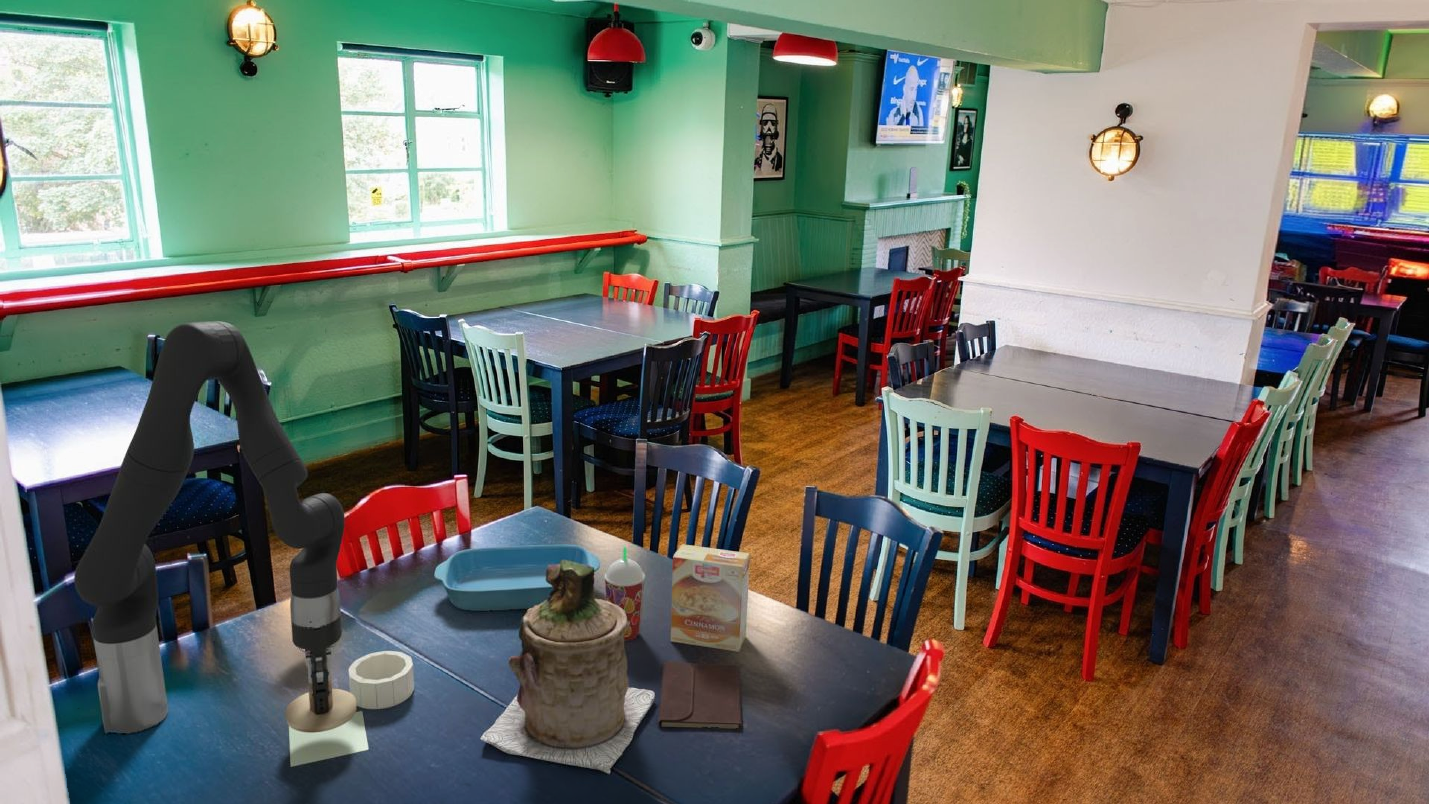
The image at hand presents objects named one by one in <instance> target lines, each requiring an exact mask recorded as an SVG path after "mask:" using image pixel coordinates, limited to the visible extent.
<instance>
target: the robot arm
mask: <svg viewBox="0 0 1429 804" xmlns="http://www.w3.org/2000/svg"><path fill="white" fill-rule="evenodd" d="M210 380H216V381H218V383H219V384H220V385H221V387H223V389H224V391H225V392H226V394H227V395H228V397H229V398H230V401H231V404H232V406H233V409H234V412H235V416H236V423H237V433H238V441H239V446H240V449H241V452H242V455H243V457H244V459H245V461H246V462H247V464H248V466H249V468H250V469H251V471H252V473H253V475H254V476H255V478H256V479H257V481H258V482H259V484H260V486H261V487H262V490H263V492H264V493H263V494H264V496H265V502H266V504H267V505H266V506H267V507H268V512H269V516H270V520H271V523H272V526H273V529H274V532H275V534H276V536H277V537H278V539H280V541H281V542H282V543H283V544H285V545H286V546H288V547H290V548H292V549H296V550H300V551H299V552H298V553H297V554H296V555H295V556H294V557H293V558H292V559H291V561H290V564H289V578H290V581H289V582H290V603H289V604H290V605H289V607H290V622H291V637H292V639H291V640H292V643H293V645H294V646H295V647H297V648H298V649H300V648H301V649H305V652H304V653H305V666H306V667H307V673H308V674H307V675H308V681H309V683H312V688H313V691H312V697H313V699H314V710H315V714H316V715H319V714H325V713H328V712H329V702H328V696H329V694H330V690H329V684H328V681H329V680H330V679H332V671H331V670H332V669H331V668H332V667H331V663H332V659H333V658H332V648H331V645H333V644H335V643H336V642H337V643H338V642H339V641H340V640H341V638H342V635H343V633H342V632H343V630H342V615H341V613H342V612H341V599H340V598H341V597H340V593H339V588H338V587H339V585H338V571H337V570H338V569H337V562H338V558H339V556H340V555H339V554H340V552H341V551H340V550H341V546H342V541H343V537H344V531H345V525H346V517H345V511H344V509H343V506H342V504H341V503H340V500H338V499H337V498H336V497H335V496H334V495H332V494H331V493H325V492H322V493H321V492H320V493H317V494H314V495H310V496H308V497H306V498H303V499H302V500H300V497H299V494H298V490H297V489H298V488H297V487H299V486H301V484H303V483H304V482H306V480H307V478H308V474H309V473H308V470H307V469H308V468H306V464H305V463H304V461H303V460H302V458H301V456H300V455H299V453H298V452H297V450H296V448H295V446H294V445H293V443H292V441H291V440H290V438H289V437H288V435H287V433H286V431H285V430H284V428H283V426H282V424H281V422H280V420H279V418H278V416H277V414H276V412H275V410H274V408H273V405H272V403H271V400H270V397H269V395H268V393H267V391H266V388H265V385H264V383H263V380H262V378H261V376H260V373H259V370H258V367H257V365H256V363H255V360H254V356H253V355H252V351H251V350H250V348H249V345H248V343H247V341H246V339H245V337H244V335H243V334H242V333H241V331H240V330H239V329H238V328H237V327H236V326H235V325H233V324H231V323H229V322H227V321H226V322H225V321H220V320H212V321H211V320H209V321H196V322H187V323H181V324H179V325H177V326H175V327H174V328H172V329H171V331H170V332H169V333H167V335H166V337H165V339H164V340H163V343H162V345H161V348H160V352H159V356H158V360H157V363H156V366H155V370H154V375H153V379H152V383H151V386H150V389H149V393H148V396H147V399H146V402H145V404H144V408H143V410H142V413H141V415H140V418H139V421H138V423H137V426H136V429H135V431H134V433H133V434H134V435H133V436H132V439H131V441H130V443H129V445H128V447H127V450H126V451H125V455H124V457H123V460H122V462H121V464H120V468H119V471H118V474H117V477H116V479H115V481H114V482H115V483H114V485H113V487H112V490H111V492H110V494H109V498H108V501H107V504H106V507H105V510H104V512H103V515H102V518H101V521H100V523H99V525H98V527H97V529H96V531H95V533H94V536H93V537H92V539H91V540H90V542H89V544H88V546H87V547H86V550H85V551H84V553H83V555H82V557H81V558H80V560H79V562H78V565H77V566H76V568H75V571H74V577H73V580H74V587H75V590H76V592H77V594H78V595H79V597H80V598H81V599H82V600H83V601H84V602H85V603H87V604H89V605H90V606H94V607H97V611H96V613H95V614H94V617H93V619H92V621H91V631H92V638H93V645H94V649H95V656H96V662H97V663H96V664H97V668H98V675H99V676H98V677H99V678H98V682H97V691H98V696H99V703H100V709H101V716H102V723H103V728H104V733H105V732H108V731H116V732H118V733H117V734H121V733H123V732H124V733H126V734H132V733H131V732H134V733H139V732H142V730H143V731H145V730H144V729H146V730H148V729H151V728H152V726H153V727H155V726H156V725H158V724H159V722H160V723H161V722H163V720H165V718H166V717H167V715H168V713H169V709H168V698H167V693H166V685H165V676H164V671H163V669H164V668H163V664H162V663H163V661H162V656H161V648H160V641H159V633H158V627H157V618H156V617H157V612H158V607H159V589H158V577H157V575H158V574H157V567H156V562H155V558H154V556H153V553H152V551H151V550H150V548H149V547H148V545H146V542H147V540H148V538H149V536H150V534H152V532H153V530H154V529H155V528H156V526H157V524H158V523H159V522H160V520H161V519H162V518H163V516H164V515H165V514H166V512H167V510H168V509H169V508H170V506H171V505H172V503H173V502H174V501H175V498H176V497H177V495H178V494H179V492H180V490H181V488H182V487H183V485H184V482H185V479H186V477H187V474H188V472H189V470H190V467H191V465H192V463H193V462H192V461H193V459H194V454H195V443H194V436H193V431H192V427H191V414H192V411H193V408H194V405H195V402H196V400H197V398H198V395H199V394H200V391H201V389H202V387H203V386H204V384H205V383H206V382H207V381H210ZM337 643H336V644H337ZM336 644H335V645H336ZM154 725H155V726H154ZM150 727H151V728H150ZM147 728H148V729H147ZM138 731H139V732H138Z"/></svg>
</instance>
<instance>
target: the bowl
mask: <svg viewBox="0 0 1429 804" xmlns="http://www.w3.org/2000/svg"><path fill="white" fill-rule="evenodd" d="M414 677H415V676H414V663H413V660H412V657H411V656H410V655H408V654H405V653H404V652H402V651H394V650H393V651H392V650H383V651H377V652H371V653H368V654H366V655H363V656H361V657H360V658H357V659H356V660H354V661H353V662H352V663H351V665H350V666H349V667H348V679H349V681H348V682H349V692H350V693H351V694H353V695H354V697H355V698H356V706H357V707H359V708H362V709H365V710H380V709H381V710H382V709H383V710H384V709H387V708H391V707H394V706H397V705H399V704H401V703H403V702H405V701H406V700H407V699H409V698H410V697H411V696H412V694H413V692H414V690H415V678H414Z"/></svg>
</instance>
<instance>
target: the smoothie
mask: <svg viewBox="0 0 1429 804" xmlns="http://www.w3.org/2000/svg"><path fill="white" fill-rule="evenodd" d="M622 548H623V549H622V553H623V554H622V555H623V558H618V559H617V560H615V561H613V562H612V563H611V564H610V566H609V567H608V568H607V571H606V572H605V573H604V587H605V590H604V591H605V601H608V602H610V603H613V604H615V605H617V606H619V607H621V608H622V609H623V610H624V611H625V613H626V616H627V621H628V629H627V630H626V632H625V633H624V634H623V635H624V642H628V641H632V640H634V639H636V638H637V637H638V634H639V633H640V631H641V623H642V612H643V611H642V610H643V599H644V589H645V587H644V585H645V578H646V575H645V573H644V572H643V570H642V567H641V566H640V565H639V564H638V562H636V561H635V560H633V559H631V558H627V547H626V546H624V547H622Z"/></svg>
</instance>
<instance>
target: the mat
mask: <svg viewBox="0 0 1429 804" xmlns="http://www.w3.org/2000/svg"><path fill="white" fill-rule="evenodd" d="M365 726H366V725H365V720H364V715H363V710H360V711H356V713H355V715H354V716H353V717H352V718H351V719H350V720H349V721H348V722H346V723H345V724H343V725H341V726H339V727H337V728H334V729H331V730H328V731H323V732H315V733H308V732H300V731H297V730H294V729H293V728H291V727H290V726H289V725H288V733H289V734H288V735H289V738H288V739H289V756H290V757H289V759H290V767H291V768H292V767H296V766H301V765H305V764H311V763H315V762H319V761H324V760H328V759H333V758H337V757H338V758H339V757H342V756H347V755H350V754H355V753H361V752H365V751H369V742H368V739H367V732H366V727H365Z"/></svg>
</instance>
